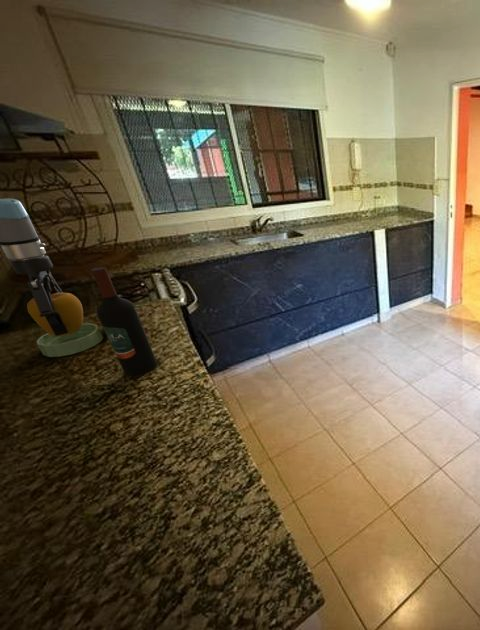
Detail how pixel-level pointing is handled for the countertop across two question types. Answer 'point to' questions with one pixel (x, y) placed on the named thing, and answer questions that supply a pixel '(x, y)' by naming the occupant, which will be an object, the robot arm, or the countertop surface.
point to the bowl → (70, 341)
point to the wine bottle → (123, 328)
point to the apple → (60, 313)
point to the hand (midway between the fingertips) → (65, 326)
